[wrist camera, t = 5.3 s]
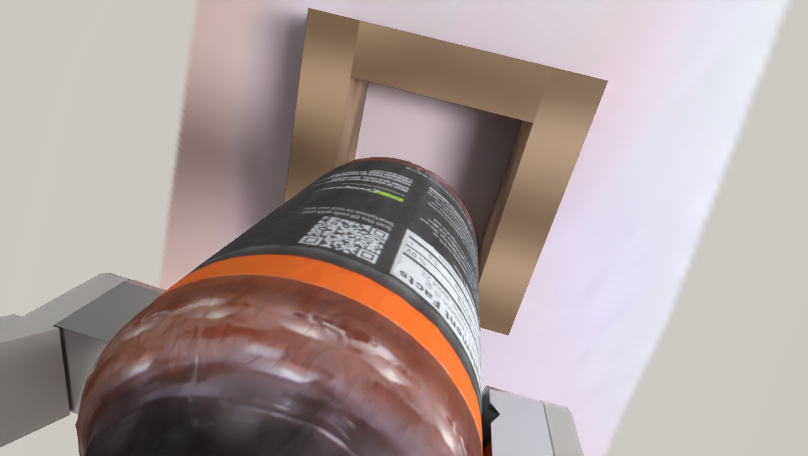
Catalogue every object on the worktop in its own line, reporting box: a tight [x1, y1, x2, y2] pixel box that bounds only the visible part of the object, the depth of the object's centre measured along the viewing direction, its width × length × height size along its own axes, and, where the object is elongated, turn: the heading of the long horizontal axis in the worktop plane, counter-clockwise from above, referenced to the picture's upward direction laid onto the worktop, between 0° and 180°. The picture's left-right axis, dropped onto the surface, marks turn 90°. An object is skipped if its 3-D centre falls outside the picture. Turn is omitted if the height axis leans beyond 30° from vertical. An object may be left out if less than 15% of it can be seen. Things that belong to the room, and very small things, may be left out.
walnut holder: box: [284, 8, 608, 335], centre depth 23 cm, size 14×14×4 cm
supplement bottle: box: [76, 157, 483, 456], centre depth 9 cm, size 6×6×11 cm
